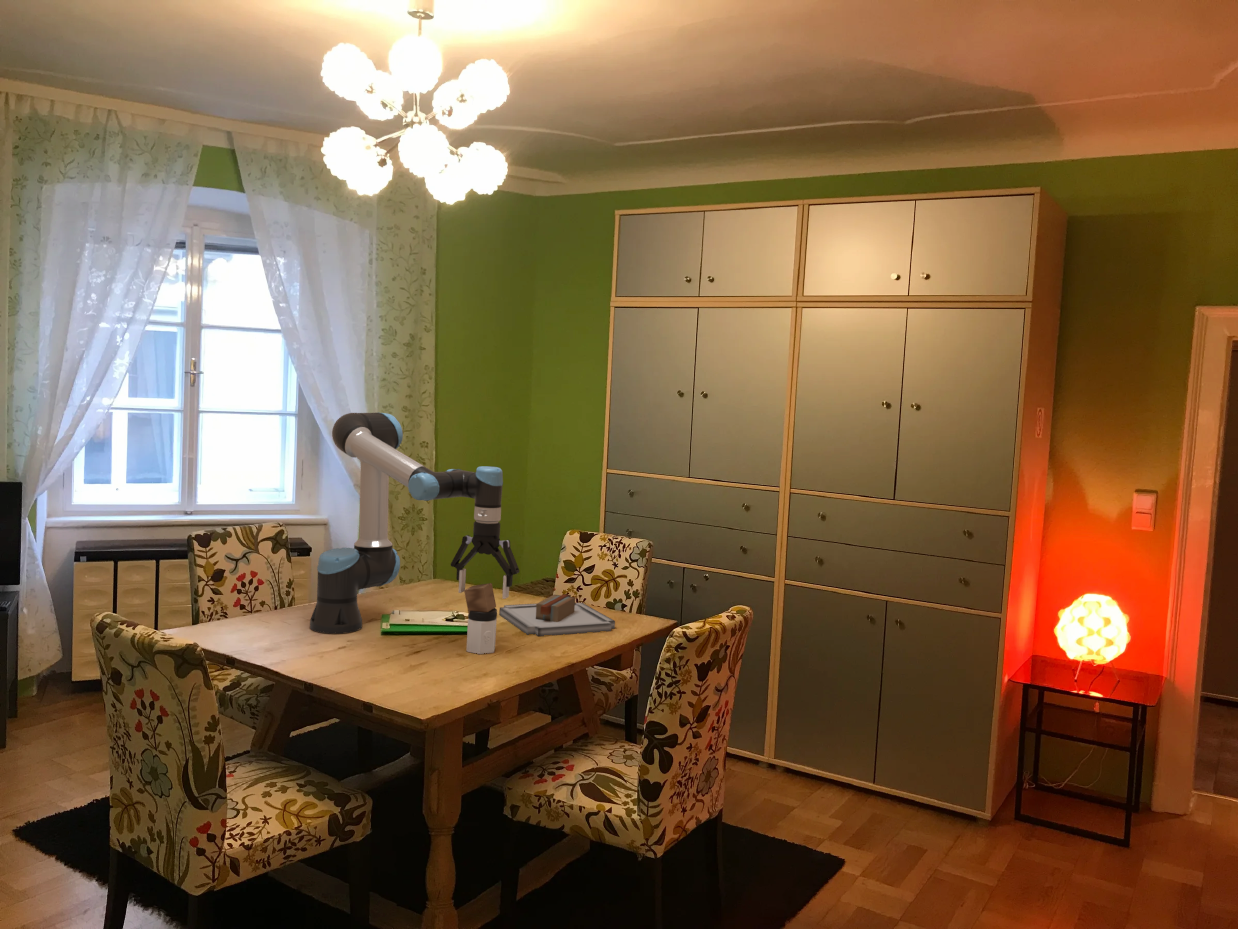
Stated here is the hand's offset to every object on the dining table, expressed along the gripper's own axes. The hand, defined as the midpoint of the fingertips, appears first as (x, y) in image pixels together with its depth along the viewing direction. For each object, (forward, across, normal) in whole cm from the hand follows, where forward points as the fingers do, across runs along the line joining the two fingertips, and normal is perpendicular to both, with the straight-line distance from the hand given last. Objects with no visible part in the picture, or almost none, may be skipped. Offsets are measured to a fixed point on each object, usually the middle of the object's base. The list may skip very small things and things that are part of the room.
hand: (483, 594), depth 281 cm
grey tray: (+17, +8, +41) cm, 45 cm away
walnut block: (+4, 0, 0) cm, 4 cm away
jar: (+16, 0, 0) cm, 16 cm away
